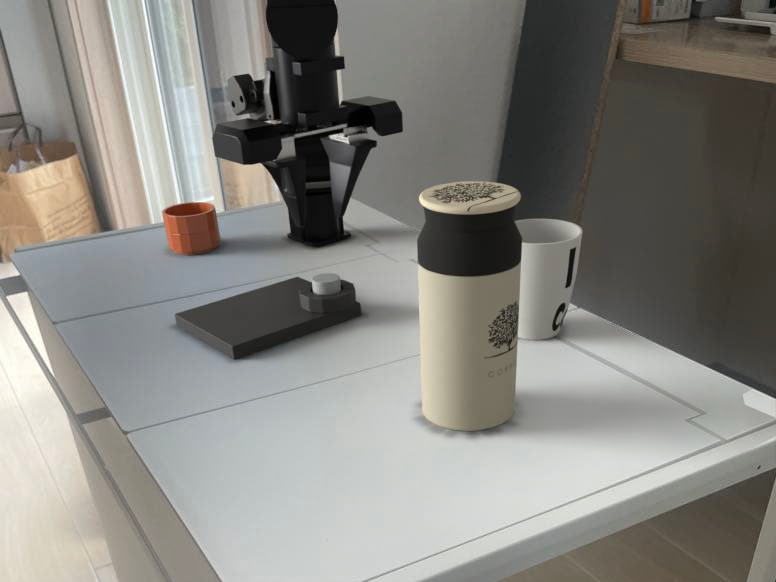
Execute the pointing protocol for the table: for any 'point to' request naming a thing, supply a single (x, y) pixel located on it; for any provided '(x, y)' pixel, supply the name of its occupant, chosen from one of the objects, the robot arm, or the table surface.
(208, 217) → the bowl
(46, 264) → the table surface
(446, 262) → the travel mug
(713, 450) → the table surface
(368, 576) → the table surface
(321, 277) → the button
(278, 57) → the robot arm
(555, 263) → the cup
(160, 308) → the table surface
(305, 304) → the scale
